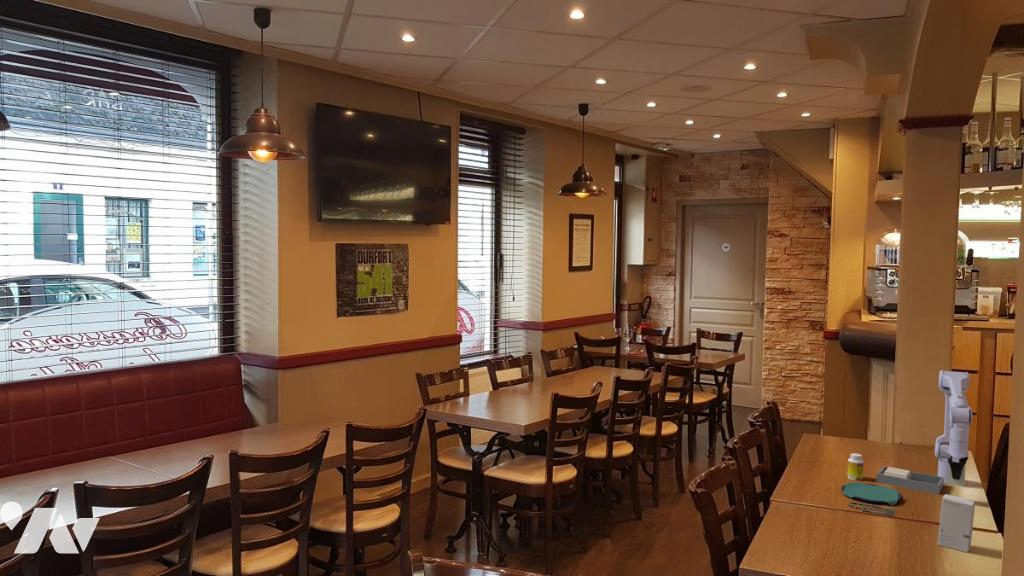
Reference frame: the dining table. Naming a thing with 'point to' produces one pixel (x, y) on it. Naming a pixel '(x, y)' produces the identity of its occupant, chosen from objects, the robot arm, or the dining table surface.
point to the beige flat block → (898, 473)
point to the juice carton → (955, 481)
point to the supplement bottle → (855, 467)
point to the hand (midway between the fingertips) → (956, 477)
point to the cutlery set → (872, 495)
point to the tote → (913, 481)
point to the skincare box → (956, 523)
